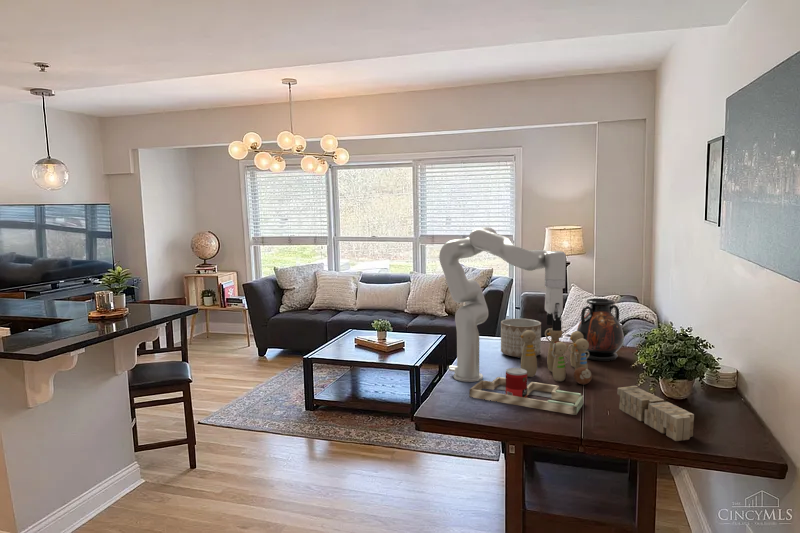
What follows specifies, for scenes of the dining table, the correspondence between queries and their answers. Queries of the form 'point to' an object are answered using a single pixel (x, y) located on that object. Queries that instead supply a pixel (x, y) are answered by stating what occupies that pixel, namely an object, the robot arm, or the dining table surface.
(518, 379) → the canned food
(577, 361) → the bowling set
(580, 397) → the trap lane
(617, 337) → the amphora vase
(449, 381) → the dining table surface
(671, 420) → the block tower
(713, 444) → the dining table surface
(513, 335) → the planter
